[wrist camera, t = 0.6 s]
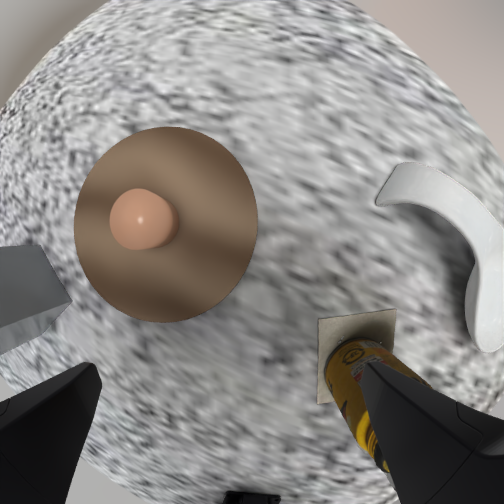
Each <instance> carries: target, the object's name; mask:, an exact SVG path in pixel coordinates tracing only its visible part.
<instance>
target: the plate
mask: <svg viewBox="0 0 504 504" xmlns="http://www.w3.org/2000/svg"><path fill="white" fill-rule="evenodd" d="M132 189H145V190H148V191H150V192H152V193H154V194H156V195H158V196H160V197H162V198H164V199H166V200H168V201H169V202H171V203H172V204H173V205H174V207H175V208H176V210H177V213H178V216H179V227H178V231H177V233H176V235H175V237H174V238H173V240H172V241H171V242H170V243H168V244H167V245H165V246H163V247H160V248H151V249H141V250H131V249H128V248H125V247H123V246H122V245H120V244H119V243H118V242H117V241H116V239H115V238H114V236H113V234H112V232H111V228H110V213H111V210H112V207H113V205H114V203H115V202H116V200H117V199H118V198H119V197H120V196H121V195H122V194H123V193H125V192H127V191H129V190H132ZM257 218H258V216H257V207H256V201H255V197H254V193H253V189H252V187H251V184H250V182H249V179H248V177H247V175H246V173H245V172H244V170H243V168H242V166H241V165H240V164H239V162H238V161H237V160H236V159H235V157H234V156H233V155H232V154H231V153H230V152H229V151H228V150H227V149H226V148H225V147H224V146H222V145H221V144H220V143H218V142H217V141H215V140H214V139H212V138H210V137H208V136H206V135H204V134H202V133H200V132H197V131H194V130H191V129H186V128H180V127H158V128H152V129H148V130H143V131H141V132H138V133H135V134H133V135H131V136H129V137H127V138H125V139H123V140H121V141H120V142H119V143H117V144H116V145H114V146H113V147H112V148H110V149H109V150H108V151H107V152H106V153H105V154H104V155H103V156H102V157H101V158H100V159H99V160H98V162H97V163H96V164H95V165H94V167H93V168H92V170H91V171H90V173H89V174H88V176H87V178H86V180H85V182H84V184H83V186H82V189H81V191H80V194H79V197H78V201H77V204H76V210H75V216H74V238H75V245H76V250H77V255H78V258H79V261H80V264H81V266H82V268H83V271H84V273H85V275H86V277H87V278H88V280H89V281H90V283H91V285H92V286H93V287H94V289H95V290H96V291H97V292H98V293H99V295H100V296H101V297H103V298H104V299H105V300H106V301H107V302H108V303H109V304H111V305H112V306H113V307H115V308H116V309H117V310H119V311H121V312H123V313H125V314H127V315H129V316H132V317H134V318H137V319H140V320H145V321H149V322H159V323H166V322H177V321H182V320H186V319H189V318H192V317H195V316H198V315H200V314H202V313H204V312H206V311H207V310H209V309H211V308H212V307H214V306H215V305H216V304H218V303H219V302H221V301H222V300H223V299H224V298H225V297H226V296H227V295H228V294H229V293H230V292H231V291H232V290H233V288H234V287H235V286H236V285H237V283H238V282H239V281H240V279H241V277H242V276H243V274H244V272H245V271H246V269H247V266H248V264H249V262H250V259H251V257H252V253H253V250H254V246H255V242H256V235H257Z"/></svg>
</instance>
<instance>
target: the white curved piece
mask: <svg viewBox="0 0 504 504" xmlns="http://www.w3.org/2000/svg"><path fill="white" fill-rule="evenodd" d="M400 203H409V204H416V205H420V206H423V207H425V208H428V209H430V210H432V211H434V212H436V213H437V214H439V215H440V216H442V217H443V218H445V219H446V220H447V221H448V222H449V223H450V224H452V225H453V226H454V227H455V228H456V229H457V230H458V231H459V232H460V233H461V234H462V235H463V236H464V238H465V239H466V241H467V242H468V243H469V245H470V247H471V249H472V251H473V253H474V256H475V265H474V268H473V270H472V272H471V275H470V278H469V280H468V284H467V288H466V294H465V317H466V323H467V328H468V331H469V334H470V336H471V339H472V341H473V342H474V344H475V345H476V347H477V348H478V349H479V350H480V351H481V352H484V353H492V352H494V351H496V350H498V349H499V348H500V347H501V346H502V345H504V228H503V227H502V226H501V225H500V224H499V222H498V221H497V220H496V219H495V218H494V217H493V215H492V214H491V213H490V211H489V210H488V209H487V208H486V207H485V205H484V204H483V203H482V202H481V201H480V200H479V199H478V198H477V197H476V196H475V195H474V194H472V193H471V192H470V191H469V190H468V189H466V188H465V187H464V186H463V185H461V184H460V183H458V182H457V181H455V180H454V179H452V178H451V177H449V176H448V175H446V174H444V173H442V172H441V171H439V170H436V169H434V168H432V167H429V166H426V165H423V164H420V163H415V162H405V163H401V164H399V165H398V166H397V167H396V168H395V170H394V171H393V173H392V175H391V176H390V178H389V179H388V181H387V182H386V184H385V186H384V187H383V189H382V190H381V192H380V194H379V195H378V197H377V200H376V204H377V205H378V206H388V205H393V204H400Z"/></svg>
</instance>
